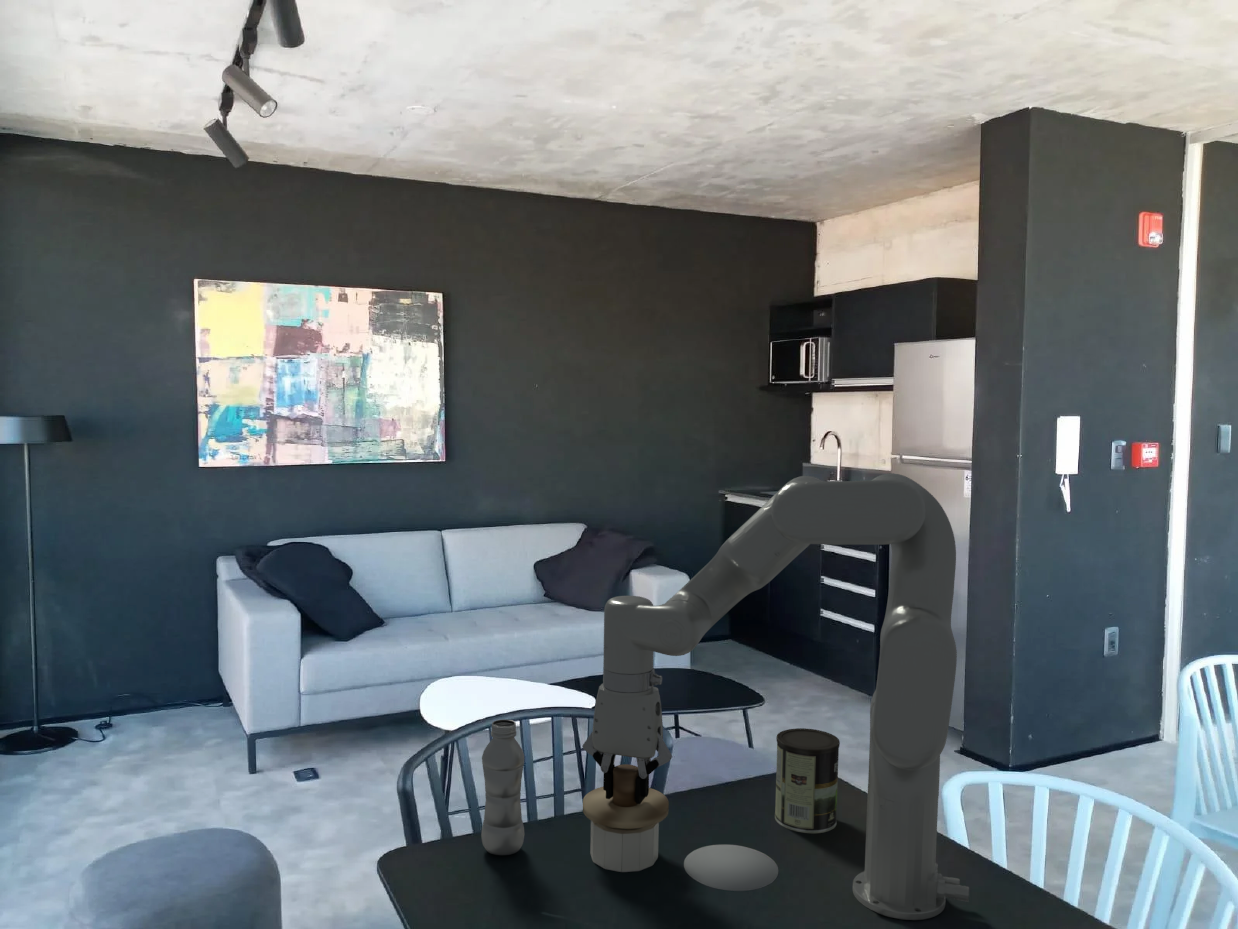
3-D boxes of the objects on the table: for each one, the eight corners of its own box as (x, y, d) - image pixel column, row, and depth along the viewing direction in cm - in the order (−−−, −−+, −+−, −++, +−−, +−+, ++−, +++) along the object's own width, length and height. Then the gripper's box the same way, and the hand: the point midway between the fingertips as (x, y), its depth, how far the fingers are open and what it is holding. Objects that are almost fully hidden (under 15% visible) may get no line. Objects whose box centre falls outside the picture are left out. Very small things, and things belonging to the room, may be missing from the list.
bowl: (664, 848, 149) (665, 810, 148) (645, 878, 139) (646, 838, 139) (604, 837, 152) (605, 800, 151) (581, 866, 142) (582, 827, 142)
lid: (678, 799, 149) (679, 760, 149) (653, 834, 137) (654, 792, 136) (600, 786, 153) (601, 749, 153) (569, 820, 141) (570, 779, 141)
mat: (785, 855, 147) (785, 854, 147) (769, 900, 134) (769, 898, 134) (697, 840, 152) (697, 838, 152) (672, 882, 138) (672, 880, 138)
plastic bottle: (503, 865, 142) (505, 734, 141) (471, 852, 146) (473, 724, 145) (533, 849, 147) (534, 722, 146) (501, 837, 151) (502, 713, 150)
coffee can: (829, 808, 164) (832, 728, 163) (842, 836, 154) (846, 750, 153) (769, 807, 165) (772, 726, 164) (778, 834, 154) (781, 749, 153)
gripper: (688, 679, 144) (685, 797, 146) (585, 666, 150) (583, 780, 151) (674, 693, 137) (672, 817, 139) (566, 680, 143) (565, 799, 144)
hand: (625, 796), depth 145 cm, fingers closed on lid, 4 cm apart
